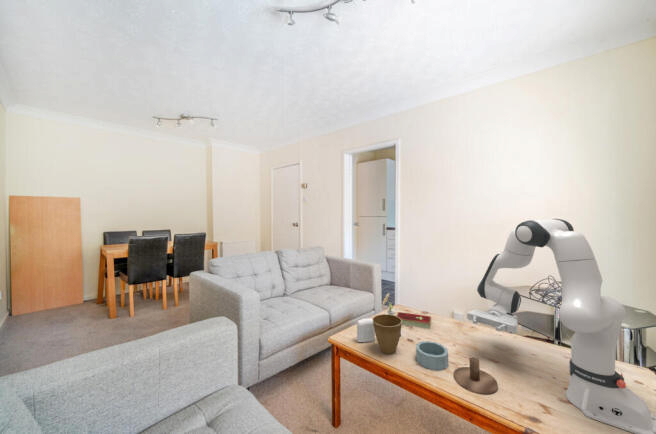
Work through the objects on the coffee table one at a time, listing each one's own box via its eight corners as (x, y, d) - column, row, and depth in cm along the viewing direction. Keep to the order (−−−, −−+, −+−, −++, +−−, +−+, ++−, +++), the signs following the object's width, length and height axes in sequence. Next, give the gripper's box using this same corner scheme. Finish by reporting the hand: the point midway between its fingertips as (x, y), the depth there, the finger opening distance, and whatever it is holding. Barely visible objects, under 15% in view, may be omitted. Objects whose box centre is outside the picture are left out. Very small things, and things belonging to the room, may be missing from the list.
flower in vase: (386, 327, 156) (385, 287, 155) (404, 332, 149) (403, 290, 149) (377, 336, 145) (376, 293, 145) (396, 342, 139) (395, 297, 138)
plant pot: (386, 340, 141) (385, 311, 141) (408, 351, 129) (407, 320, 129) (367, 348, 132) (366, 318, 132) (389, 362, 120) (388, 329, 120)
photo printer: (373, 337, 144) (372, 316, 144) (376, 341, 140) (375, 319, 140) (356, 340, 142) (355, 318, 142) (358, 343, 138) (358, 321, 137)
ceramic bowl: (453, 361, 119) (453, 349, 119) (439, 374, 111) (438, 360, 110) (425, 349, 130) (425, 338, 130) (410, 360, 121) (410, 348, 121)
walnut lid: (503, 381, 105) (502, 359, 105) (490, 401, 94) (489, 377, 94) (462, 365, 117) (462, 345, 117) (447, 380, 107) (446, 359, 107)
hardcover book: (398, 317, 172) (398, 311, 172) (431, 322, 164) (431, 315, 164) (395, 324, 161) (395, 318, 161) (430, 330, 153) (430, 323, 153)
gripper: (473, 304, 131) (461, 311, 122) (521, 316, 115) (512, 326, 106) (473, 316, 131) (461, 324, 122) (521, 330, 115) (512, 340, 106)
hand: (485, 325), depth 114 cm, fingers open, 8 cm apart
